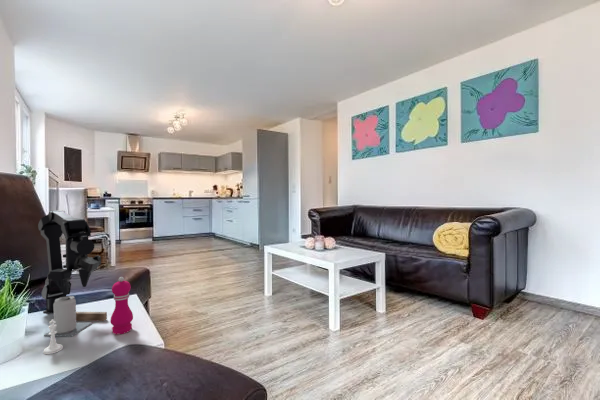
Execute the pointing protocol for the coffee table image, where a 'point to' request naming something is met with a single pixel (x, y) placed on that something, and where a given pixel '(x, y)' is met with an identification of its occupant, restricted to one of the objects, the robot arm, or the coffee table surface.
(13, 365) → the coffee table surface
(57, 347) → the chess piece
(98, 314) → the low wall
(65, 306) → the beverage can
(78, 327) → the slate mat
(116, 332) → the pepper mill
